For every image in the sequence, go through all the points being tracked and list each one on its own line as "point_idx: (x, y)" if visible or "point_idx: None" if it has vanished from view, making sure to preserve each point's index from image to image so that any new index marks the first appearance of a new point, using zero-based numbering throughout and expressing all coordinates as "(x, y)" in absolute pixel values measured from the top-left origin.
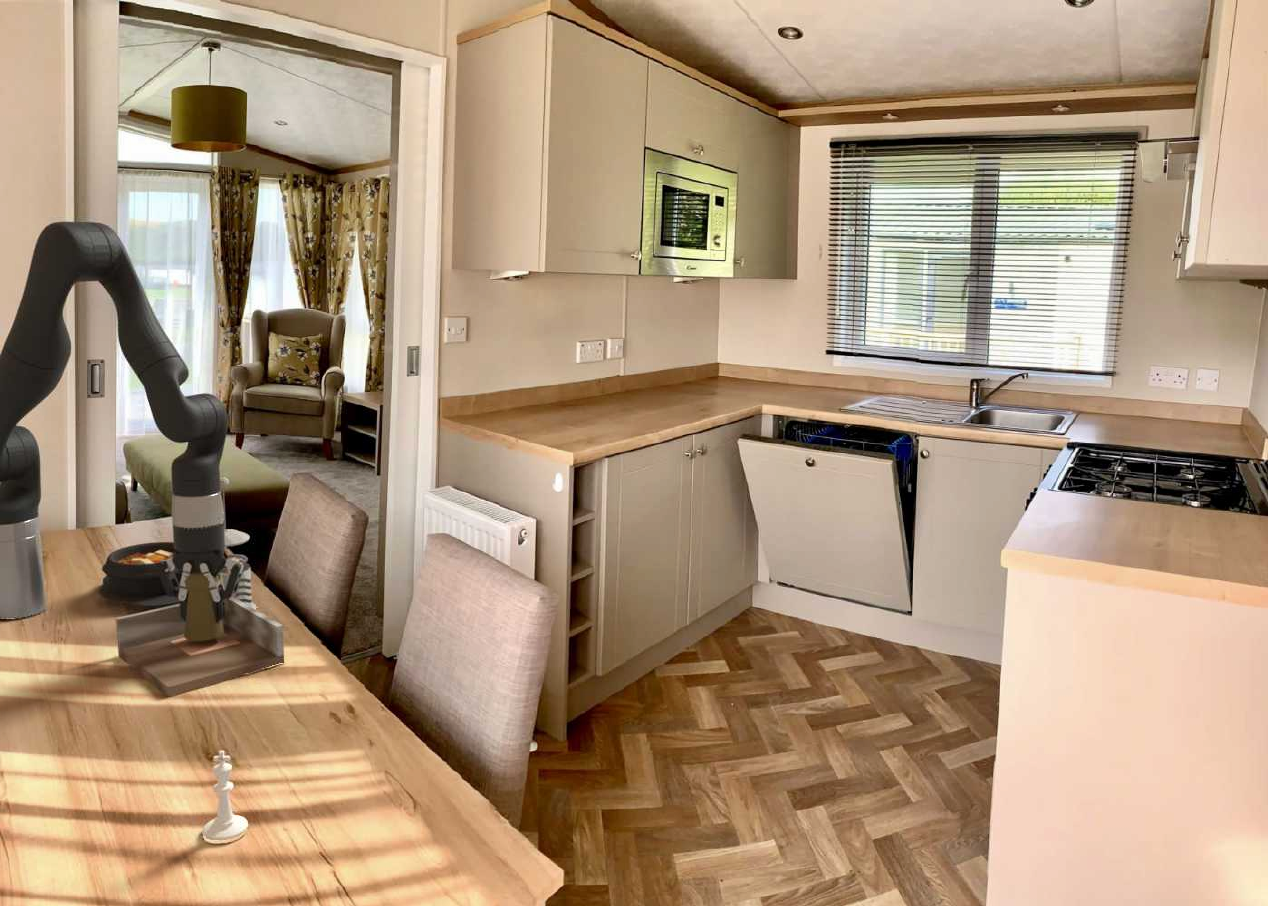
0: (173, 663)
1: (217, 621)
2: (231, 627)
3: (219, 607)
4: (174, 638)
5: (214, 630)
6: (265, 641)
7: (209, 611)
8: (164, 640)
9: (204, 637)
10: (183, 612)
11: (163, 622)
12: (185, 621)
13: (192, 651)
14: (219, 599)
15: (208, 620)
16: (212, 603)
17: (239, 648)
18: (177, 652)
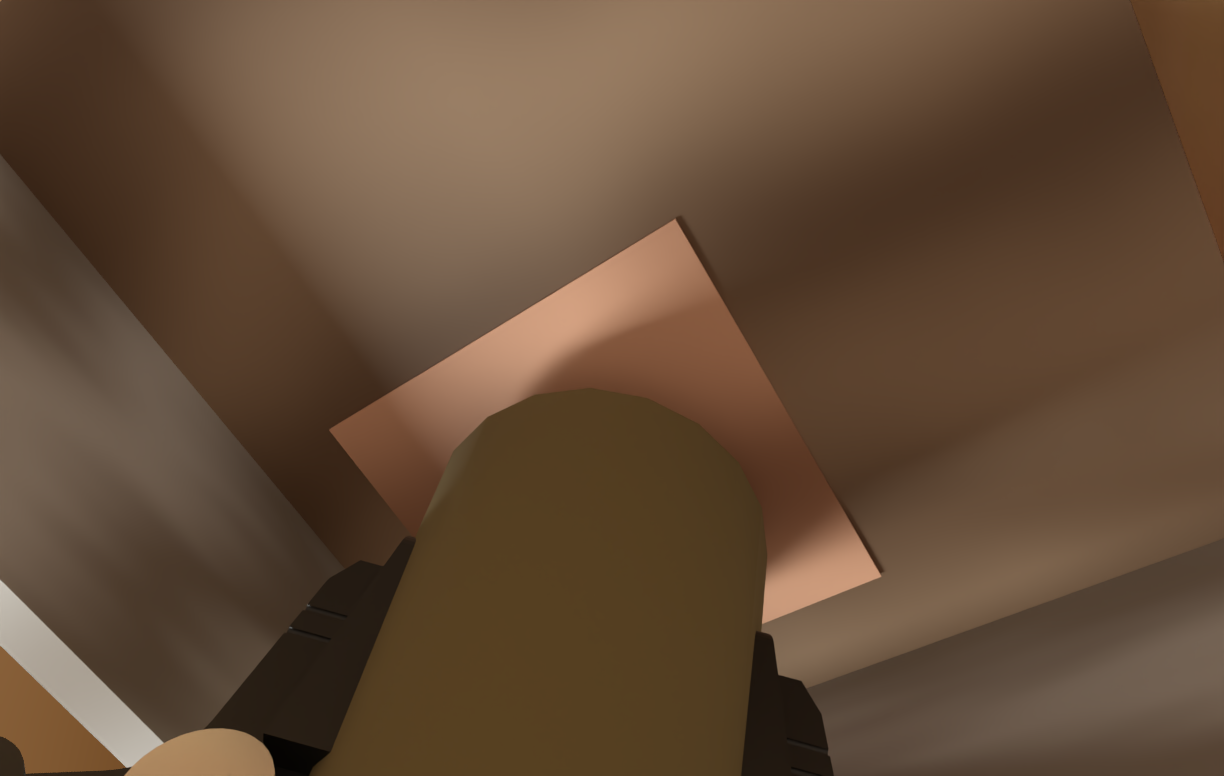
0: (817, 57)
1: (401, 544)
2: None
3: (285, 674)
4: (851, 628)
5: (458, 467)
6: (36, 285)
7: (415, 615)
8: (928, 606)
9: (558, 406)
10: (789, 742)
11: (981, 763)
12: (757, 631)
13: (674, 323)
14: (157, 756)
15: (467, 520)
16: (330, 729)
17: (305, 323)
18: (803, 334)
